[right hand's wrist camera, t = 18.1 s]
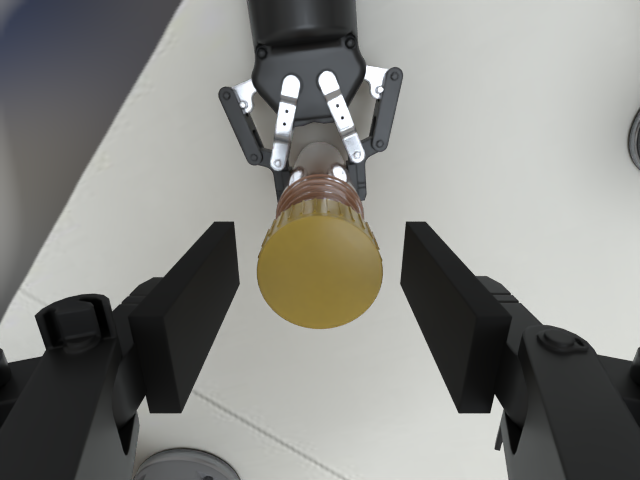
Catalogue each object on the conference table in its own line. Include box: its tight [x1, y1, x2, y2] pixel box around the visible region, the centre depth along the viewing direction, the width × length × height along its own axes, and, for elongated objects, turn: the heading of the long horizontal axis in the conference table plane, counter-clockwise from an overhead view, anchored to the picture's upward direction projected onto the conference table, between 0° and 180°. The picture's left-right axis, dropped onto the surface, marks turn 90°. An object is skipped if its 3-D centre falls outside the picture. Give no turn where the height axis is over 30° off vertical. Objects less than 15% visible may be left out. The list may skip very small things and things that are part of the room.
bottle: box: [276, 142, 364, 220], centre depth 24 cm, size 5×5×24 cm
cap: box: [257, 198, 383, 329], centre depth 13 cm, size 4×4×2 cm
